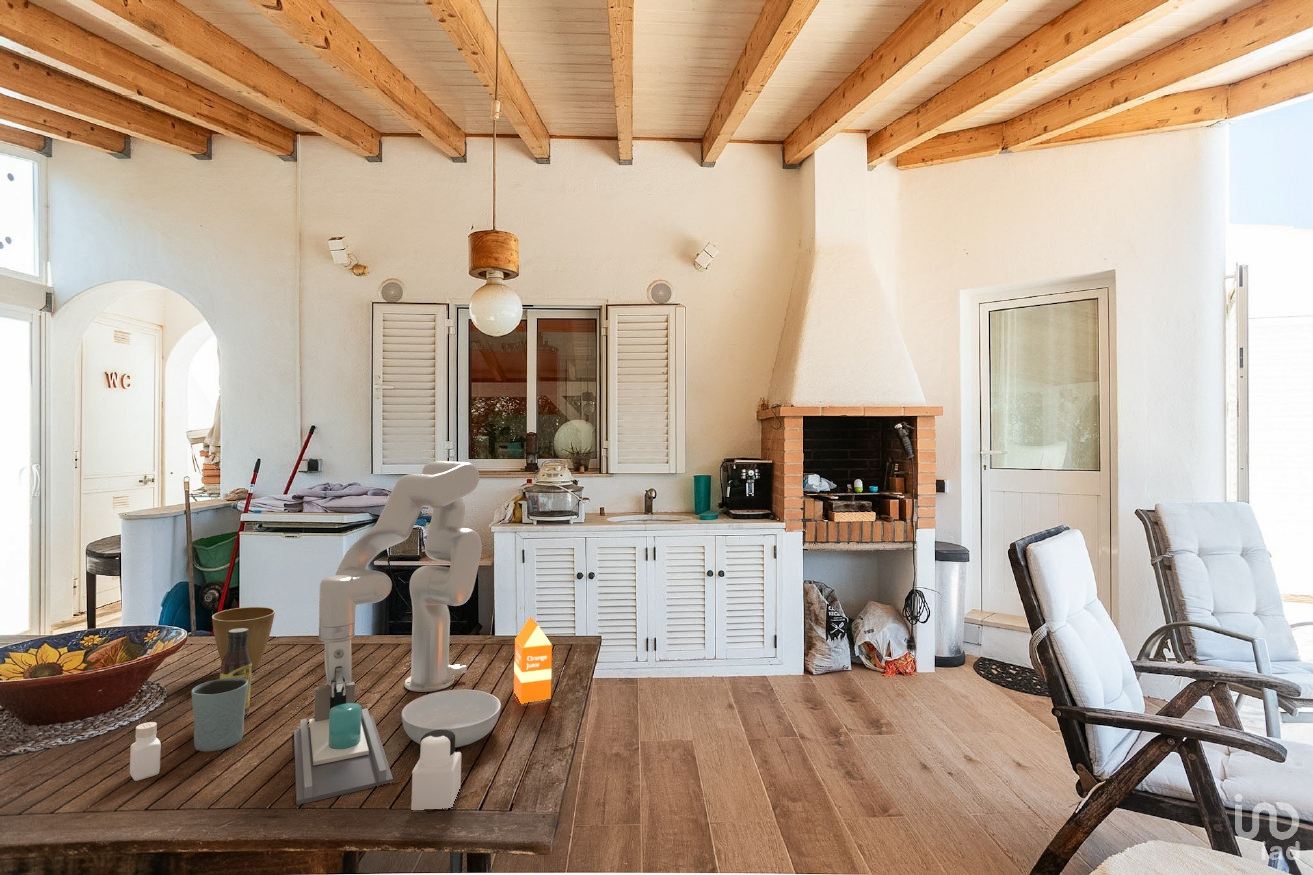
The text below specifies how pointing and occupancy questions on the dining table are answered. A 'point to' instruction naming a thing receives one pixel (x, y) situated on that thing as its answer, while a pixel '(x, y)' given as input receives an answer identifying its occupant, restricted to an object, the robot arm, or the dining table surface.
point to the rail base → (339, 766)
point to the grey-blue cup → (219, 713)
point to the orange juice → (532, 664)
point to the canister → (344, 726)
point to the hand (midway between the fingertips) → (336, 705)
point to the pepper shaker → (145, 752)
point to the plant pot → (248, 617)
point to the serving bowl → (452, 715)
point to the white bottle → (436, 772)
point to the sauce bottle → (238, 660)
